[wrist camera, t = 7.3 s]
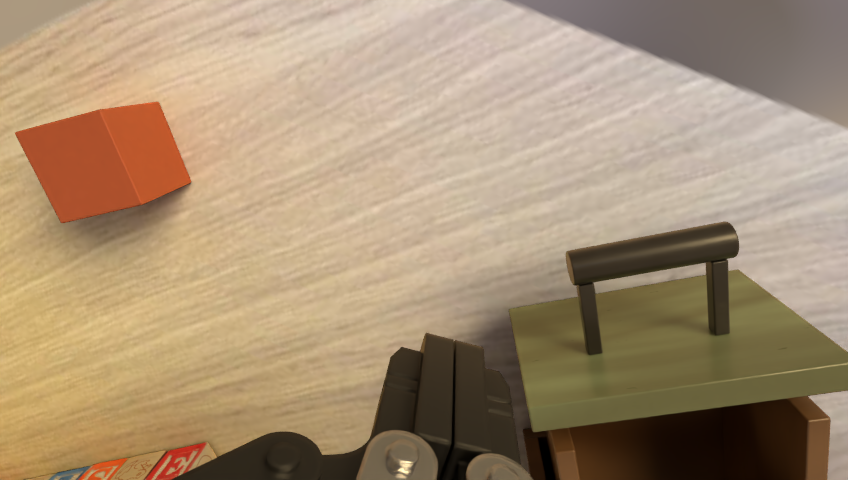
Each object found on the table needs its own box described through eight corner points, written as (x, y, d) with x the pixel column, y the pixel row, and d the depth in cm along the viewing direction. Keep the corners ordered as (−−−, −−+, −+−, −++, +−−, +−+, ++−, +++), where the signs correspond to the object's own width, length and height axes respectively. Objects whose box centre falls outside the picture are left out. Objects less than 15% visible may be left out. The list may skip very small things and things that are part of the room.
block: (85, 120, 24) (13, 132, 20) (159, 101, 24) (99, 109, 20) (121, 198, 26) (60, 223, 22) (192, 182, 25) (142, 205, 21)
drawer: (491, 226, 24) (505, 299, 17) (736, 177, 22) (872, 234, 15) (546, 497, 30) (574, 639, 22) (742, 475, 28) (840, 620, 21)
